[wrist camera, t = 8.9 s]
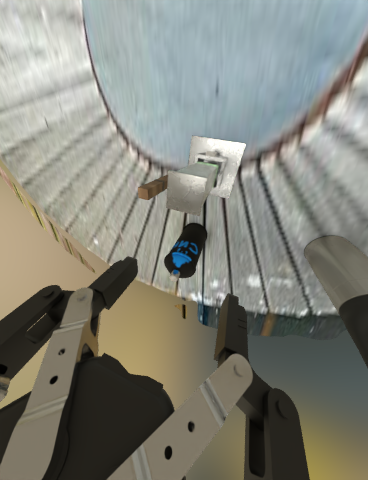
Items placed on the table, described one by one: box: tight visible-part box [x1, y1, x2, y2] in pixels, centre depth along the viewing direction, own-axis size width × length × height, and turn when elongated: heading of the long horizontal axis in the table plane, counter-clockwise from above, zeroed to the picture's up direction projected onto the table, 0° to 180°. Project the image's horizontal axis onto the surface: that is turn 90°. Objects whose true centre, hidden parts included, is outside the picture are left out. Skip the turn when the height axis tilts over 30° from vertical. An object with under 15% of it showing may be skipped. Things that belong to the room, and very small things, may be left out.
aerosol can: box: [164, 223, 207, 282], centre depth 39 cm, size 8×8×20 cm
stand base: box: [188, 136, 246, 199], centre depth 33 cm, size 12×12×7 cm
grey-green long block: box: [166, 161, 219, 216], centre depth 23 cm, size 5×5×16 cm
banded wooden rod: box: [138, 175, 168, 200], centre depth 33 cm, size 2×2×16 cm
